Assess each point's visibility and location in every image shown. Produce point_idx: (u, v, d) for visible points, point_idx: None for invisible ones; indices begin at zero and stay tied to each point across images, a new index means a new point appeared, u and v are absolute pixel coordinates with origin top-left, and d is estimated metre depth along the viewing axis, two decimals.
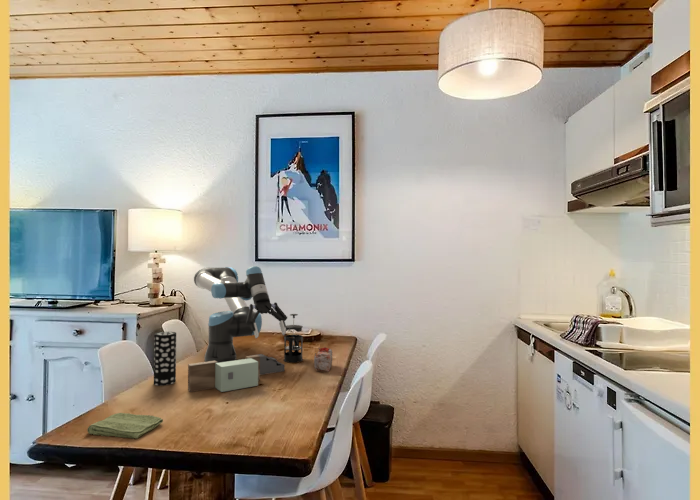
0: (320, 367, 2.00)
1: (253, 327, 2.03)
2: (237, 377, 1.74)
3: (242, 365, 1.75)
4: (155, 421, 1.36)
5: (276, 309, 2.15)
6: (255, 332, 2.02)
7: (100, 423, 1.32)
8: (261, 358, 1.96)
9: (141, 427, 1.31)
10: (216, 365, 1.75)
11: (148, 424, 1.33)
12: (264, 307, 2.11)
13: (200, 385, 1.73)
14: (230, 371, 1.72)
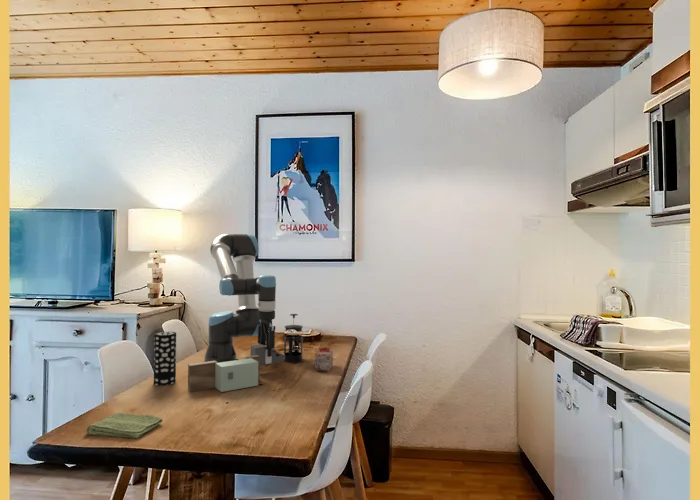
0: (321, 367, 2.01)
1: None
2: (237, 377, 1.74)
3: (242, 365, 1.75)
4: (155, 421, 1.37)
5: None
6: None
7: (99, 423, 1.32)
8: (260, 348, 1.96)
9: (141, 427, 1.31)
10: (216, 365, 1.75)
11: (148, 424, 1.34)
12: None
13: (200, 385, 1.73)
14: (230, 371, 1.72)
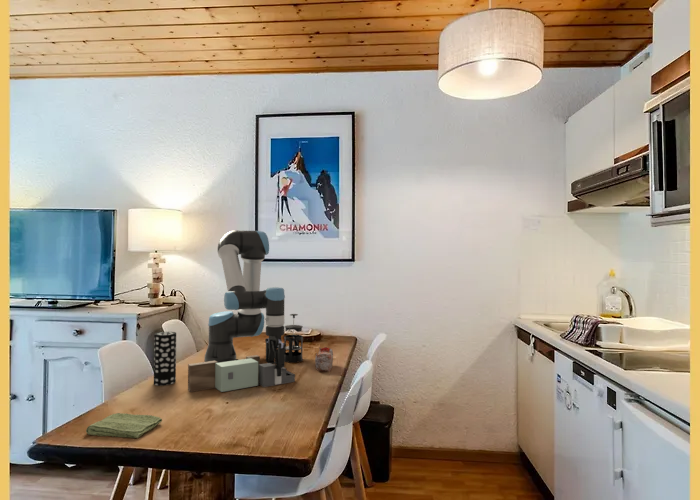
0: (321, 367, 2.01)
1: None
2: (237, 377, 1.74)
3: (242, 365, 1.75)
4: (154, 420, 1.37)
5: None
6: None
7: (99, 423, 1.32)
8: (270, 368, 1.79)
9: (141, 426, 1.31)
10: (216, 365, 1.75)
11: (148, 423, 1.34)
12: None
13: (200, 385, 1.73)
14: (230, 371, 1.72)
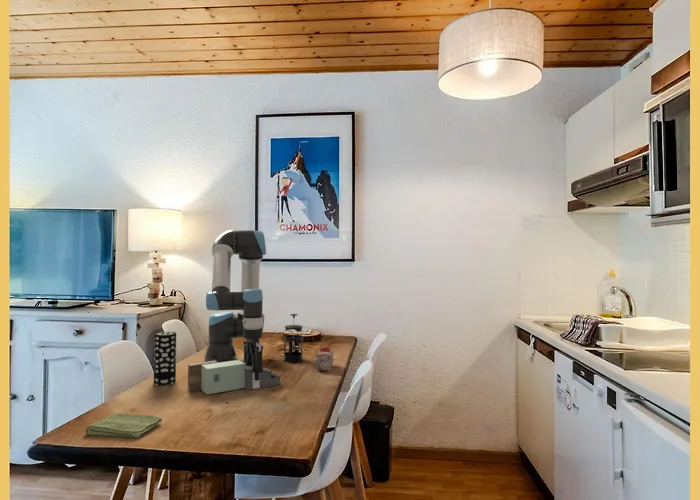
0: (322, 367, 2.01)
1: None
2: (223, 379, 1.71)
3: (229, 367, 1.72)
4: (154, 420, 1.37)
5: None
6: None
7: (99, 423, 1.32)
8: None
9: (141, 426, 1.31)
10: (202, 367, 1.71)
11: (148, 423, 1.34)
12: None
13: (200, 385, 1.73)
14: (216, 373, 1.69)
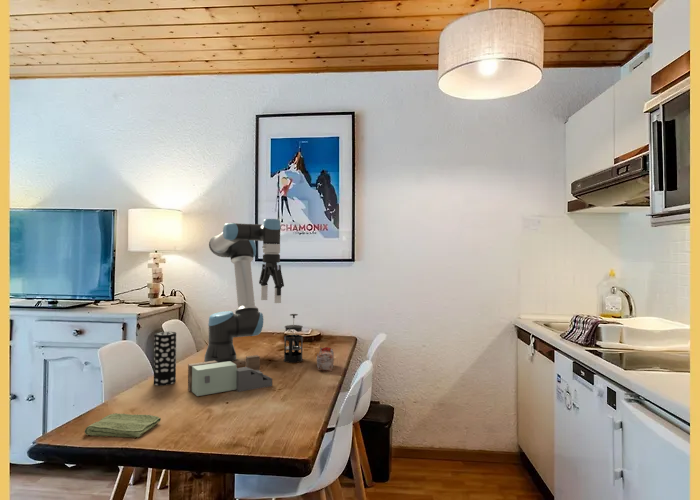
0: (323, 367, 2.01)
1: None
2: (214, 380, 1.68)
3: (219, 368, 1.70)
4: (153, 420, 1.37)
5: None
6: None
7: (98, 424, 1.31)
8: (245, 372, 1.73)
9: (141, 426, 1.32)
10: (193, 368, 1.69)
11: (147, 423, 1.34)
12: None
13: None
14: (207, 375, 1.67)
